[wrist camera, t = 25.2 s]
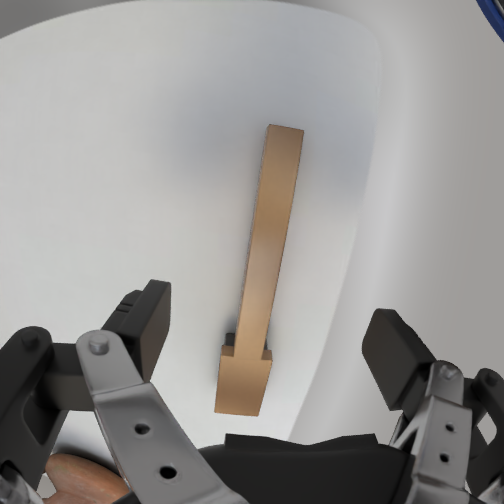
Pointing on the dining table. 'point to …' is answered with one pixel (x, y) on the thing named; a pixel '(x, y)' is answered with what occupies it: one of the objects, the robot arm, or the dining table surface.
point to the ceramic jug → (82, 481)
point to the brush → (260, 277)
